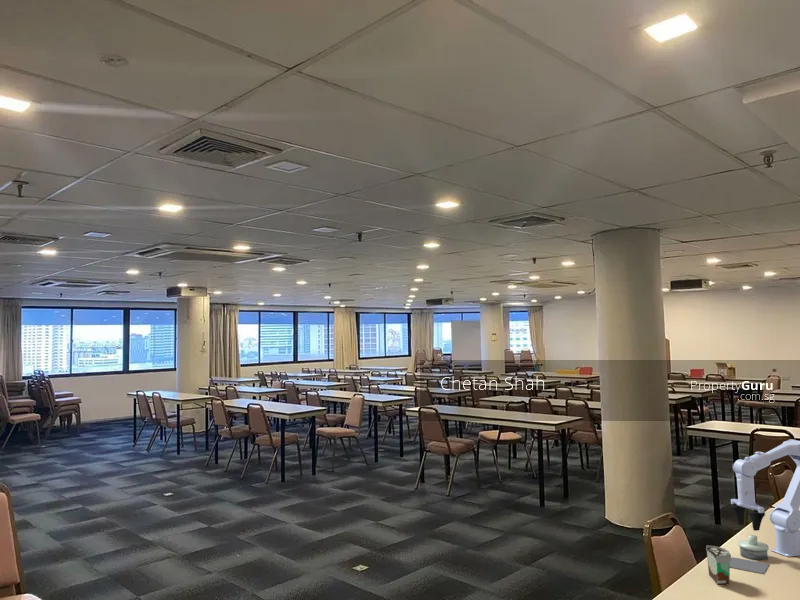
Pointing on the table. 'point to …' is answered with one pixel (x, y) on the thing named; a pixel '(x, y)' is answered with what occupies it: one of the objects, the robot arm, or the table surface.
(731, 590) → the table surface
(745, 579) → the table surface
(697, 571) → the table surface
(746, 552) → the tin
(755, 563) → the mat
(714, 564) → the food container
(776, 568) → the table surface
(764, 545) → the lid
